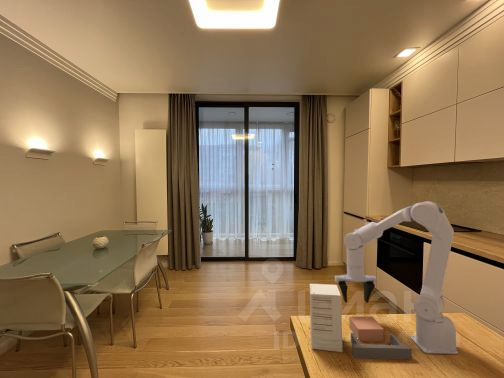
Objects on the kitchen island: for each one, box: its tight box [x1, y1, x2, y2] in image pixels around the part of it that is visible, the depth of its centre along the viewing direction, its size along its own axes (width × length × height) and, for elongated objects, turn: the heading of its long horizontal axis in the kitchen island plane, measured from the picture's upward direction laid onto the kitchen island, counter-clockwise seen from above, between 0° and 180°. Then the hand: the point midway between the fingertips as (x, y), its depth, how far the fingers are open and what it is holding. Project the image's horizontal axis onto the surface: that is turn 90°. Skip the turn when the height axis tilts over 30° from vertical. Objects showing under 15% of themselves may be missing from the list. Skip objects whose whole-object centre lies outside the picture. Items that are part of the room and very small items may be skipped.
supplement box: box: [309, 283, 343, 353], centre depth 79 cm, size 10×9×17 cm
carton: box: [348, 315, 385, 342], centre depth 83 cm, size 8×8×4 cm
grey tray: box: [350, 332, 413, 360], centre depth 75 cm, size 16×8×3 cm, turn 86°
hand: (355, 301), depth 92 cm, fingers open, 7 cm apart
